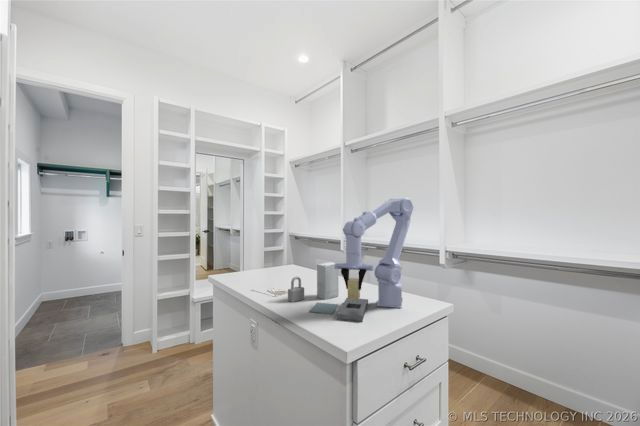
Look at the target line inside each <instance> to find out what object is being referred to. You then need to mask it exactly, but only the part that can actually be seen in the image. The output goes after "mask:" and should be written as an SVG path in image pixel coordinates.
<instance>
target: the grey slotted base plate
mask: <svg viewBox="0 0 640 426" xmlns="http://www.w3.org/2000/svg"><path fill="white" fill-rule="evenodd" d="M368 306H369V299H368V298H359V300H352V299H348V297H346V298H345V299H344V302H343V303H342V305H341V306H340V308H339V309H338V312H337V313H336V320H339V321H349V322H358V323H359V322H360V323H362V322H363V320H364V318H365V315H366V312H367V310H368Z"/></svg>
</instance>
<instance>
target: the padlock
mask: <svg viewBox="0 0 640 426" xmlns="http://www.w3.org/2000/svg"><path fill="white" fill-rule="evenodd" d="M296 280H298V286H296V287H295V281H296ZM290 284H291V286H290V288H288V289H287V291H288V293H287V301H288V302H290V303H293V302H294V303H295V302H298V301H301V300H304V299H305V287H303V286H302V279H301V277H299V276H294V277H293V278H292V279H291V282H290Z"/></svg>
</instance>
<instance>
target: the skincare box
mask: <svg viewBox="0 0 640 426" xmlns="http://www.w3.org/2000/svg"><path fill="white" fill-rule="evenodd" d="M335 263H336V262H332V261H327V262H324V263H318V264H316V296H317V297H316V298H320V299H322V300H324V301H326V300H329V299H331V298H336V297H339V269H335Z"/></svg>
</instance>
